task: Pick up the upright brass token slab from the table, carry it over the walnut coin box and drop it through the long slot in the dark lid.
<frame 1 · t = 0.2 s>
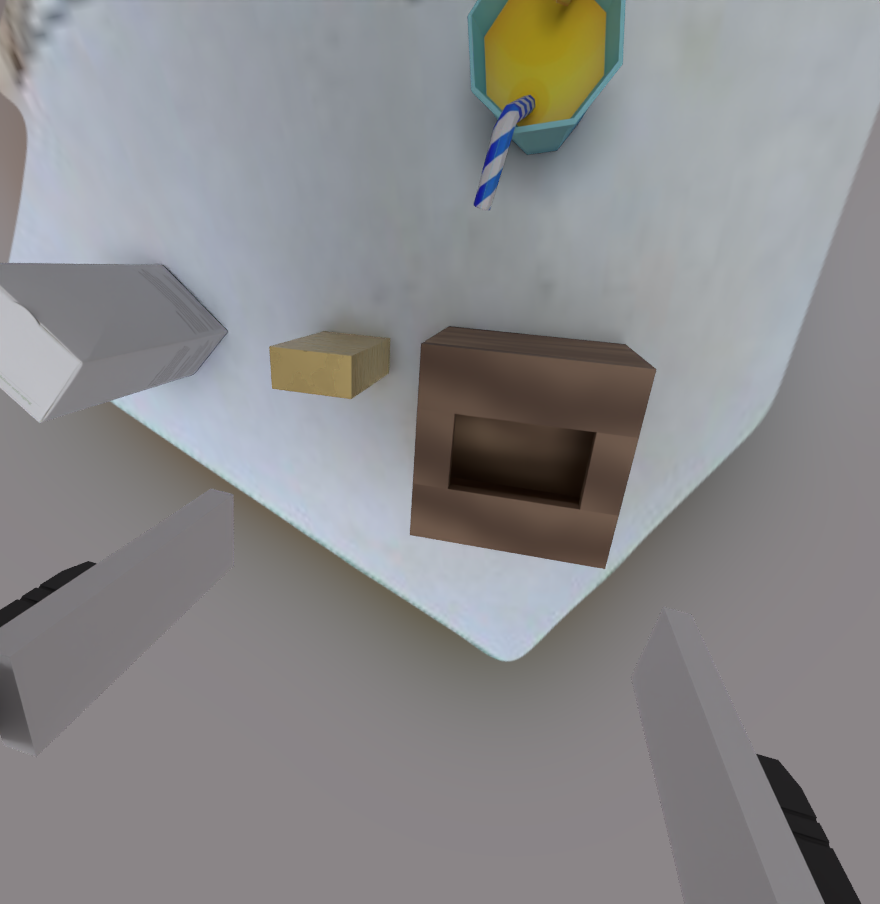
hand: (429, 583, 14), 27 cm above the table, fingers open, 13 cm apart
cup: (536, 126, 32), on the table
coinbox: (522, 418, 39), on the table
token: (356, 352, 40), on the table
skincare box: (183, 321, 42), on the table
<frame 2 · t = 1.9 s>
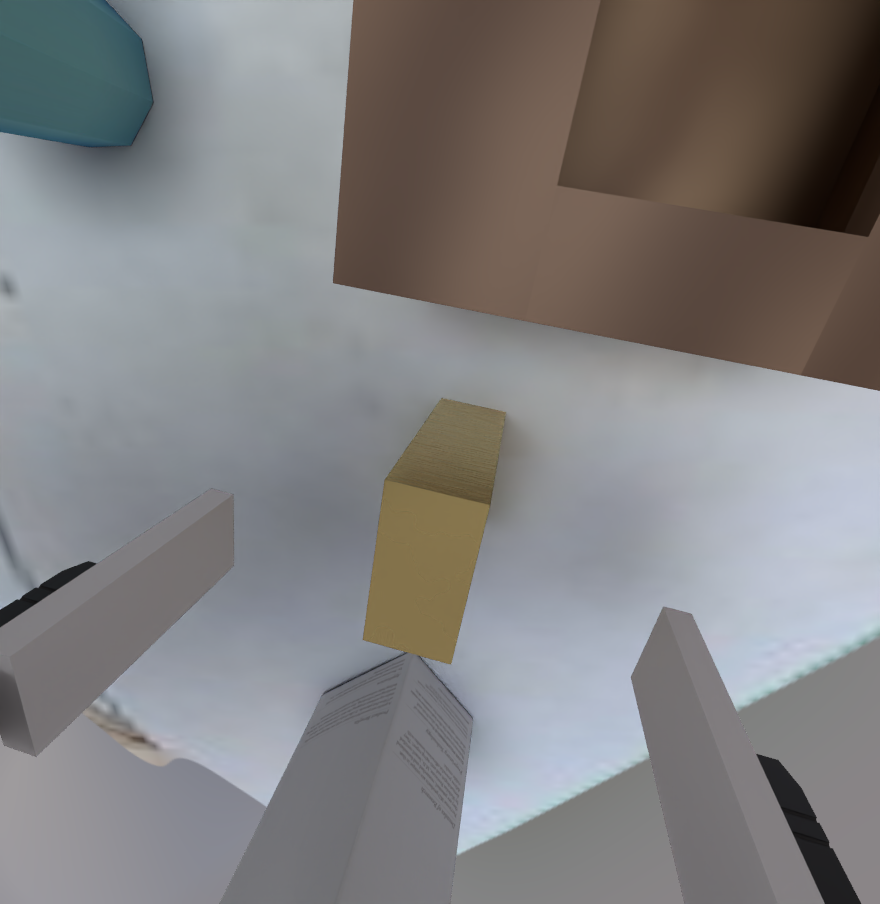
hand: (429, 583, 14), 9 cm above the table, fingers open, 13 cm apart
cup: (118, 86, 19), on the table
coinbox: (655, 100, 16), on the table
token: (461, 464, 22), on the table
skincare box: (396, 699, 29), on the table
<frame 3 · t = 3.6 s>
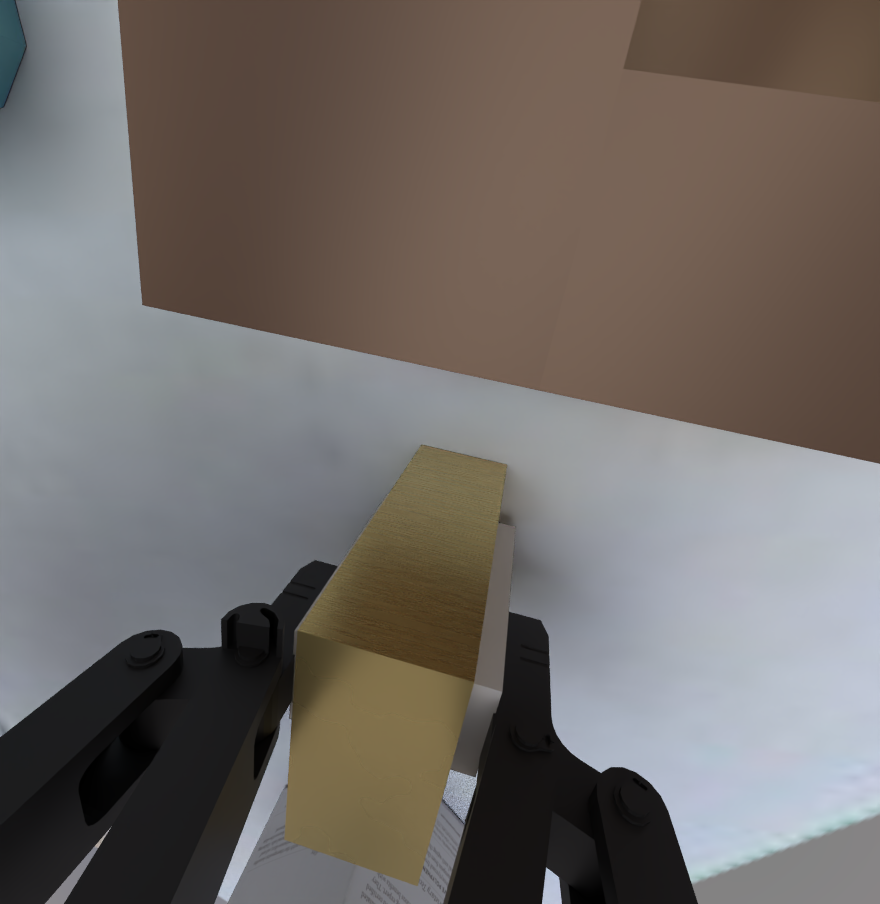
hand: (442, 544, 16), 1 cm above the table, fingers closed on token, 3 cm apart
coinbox: (731, 22, 11), on the table
token: (448, 528, 17), on the table, touching gripper
skincare box: (372, 797, 24), on the table
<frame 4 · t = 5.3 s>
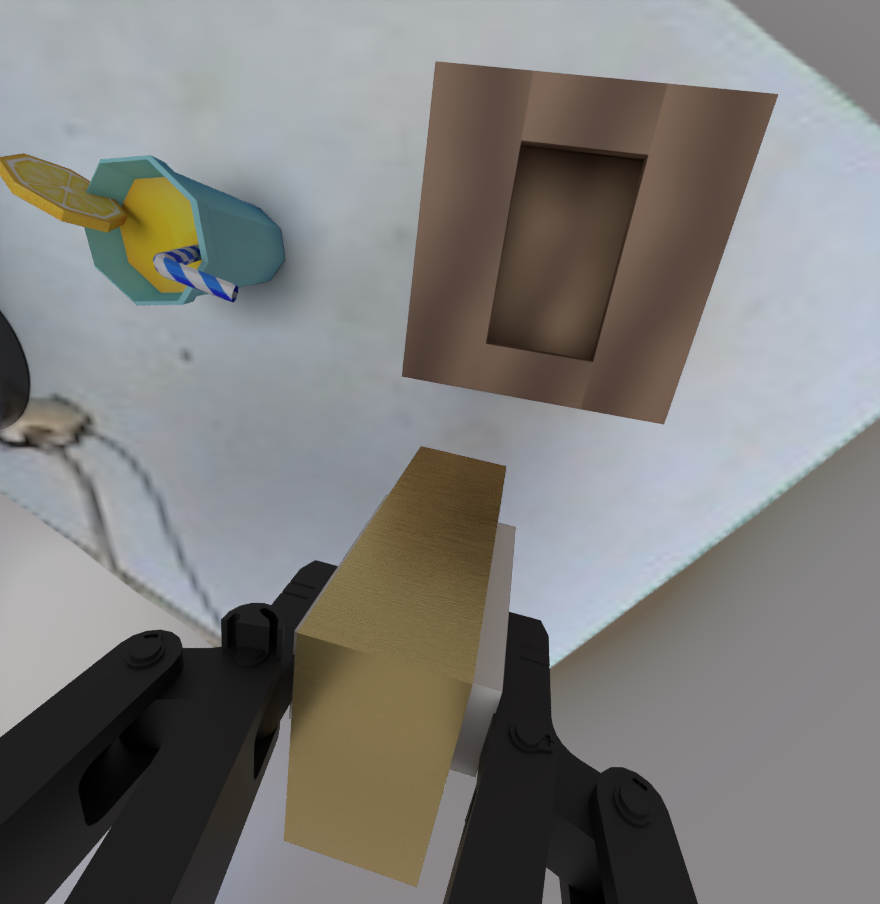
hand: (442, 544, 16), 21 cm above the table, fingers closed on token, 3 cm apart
cup: (265, 250, 34), on the table
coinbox: (551, 262, 31), on the table
token: (447, 529, 17), point 20 cm above the table, touching gripper
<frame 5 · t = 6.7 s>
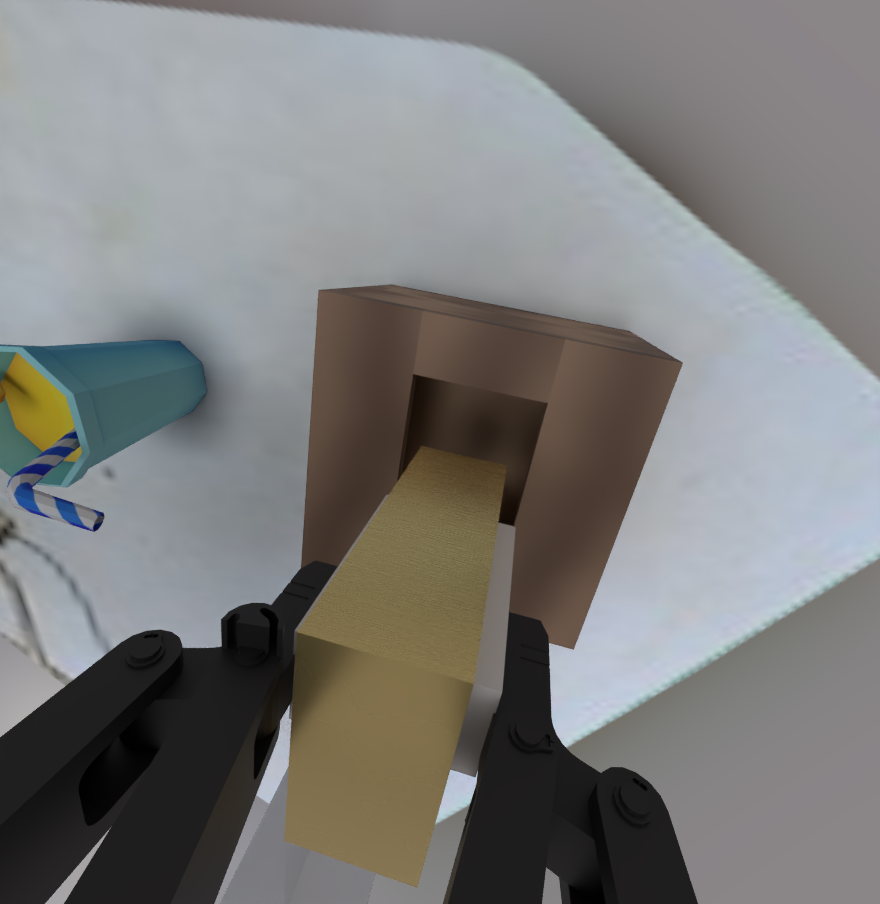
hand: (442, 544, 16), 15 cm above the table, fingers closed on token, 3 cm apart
cup: (186, 380, 32), on the table
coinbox: (481, 420, 29), on the table
token: (448, 529, 17), point 13 cm above the table, touching gripper
skincare box: (358, 730, 42), on the table
when the fingers open (13 cm above the table, at t = 7.5 s): token drops 11 cm, resting on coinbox.
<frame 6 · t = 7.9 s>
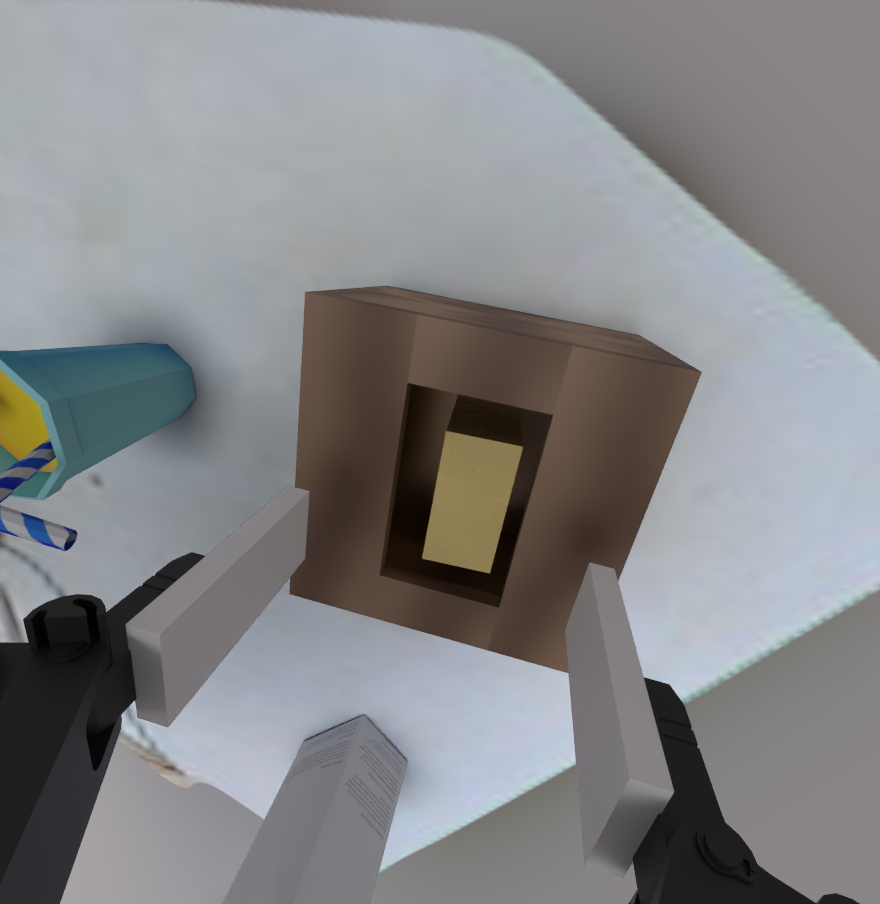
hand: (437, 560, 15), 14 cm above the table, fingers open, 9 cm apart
cup: (175, 385, 31), on the table
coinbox: (482, 428, 28), on the table
token: (479, 433, 27), point 1 cm above the table, touching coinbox
skincare box: (355, 746, 41), on the table
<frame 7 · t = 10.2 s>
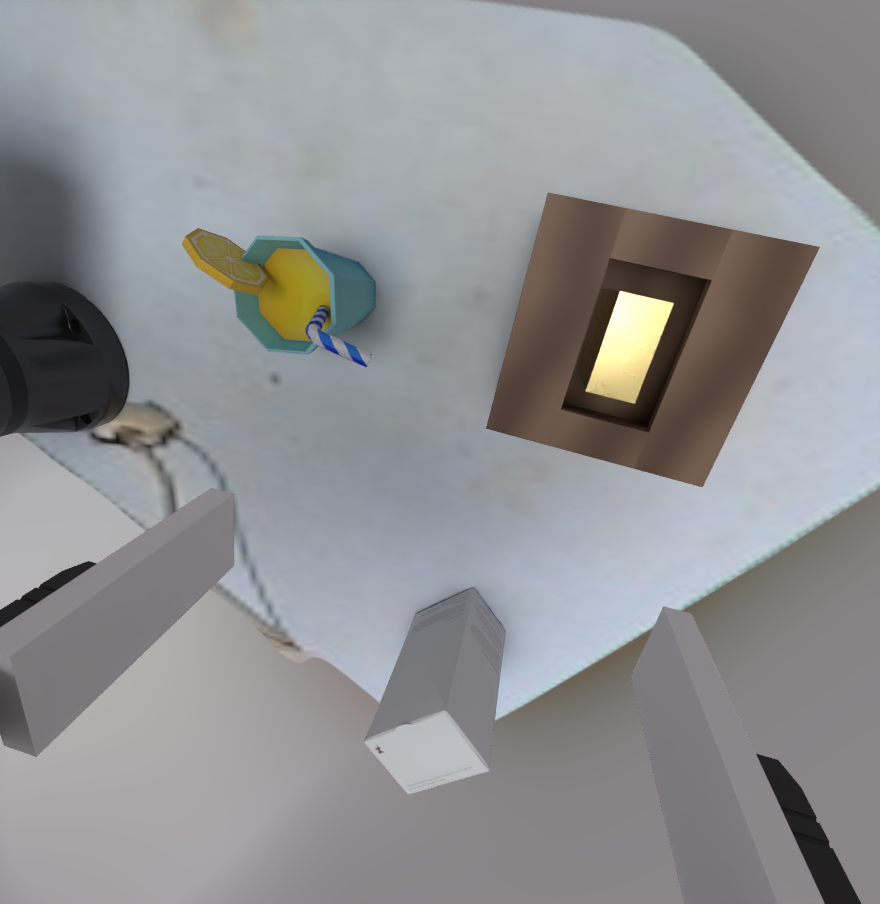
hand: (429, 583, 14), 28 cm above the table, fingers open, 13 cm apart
cup: (358, 297, 40), on the table
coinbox: (609, 331, 36), on the table
token: (609, 333, 35), point 1 cm above the table, touching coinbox
skincare box: (459, 618, 49), on the table
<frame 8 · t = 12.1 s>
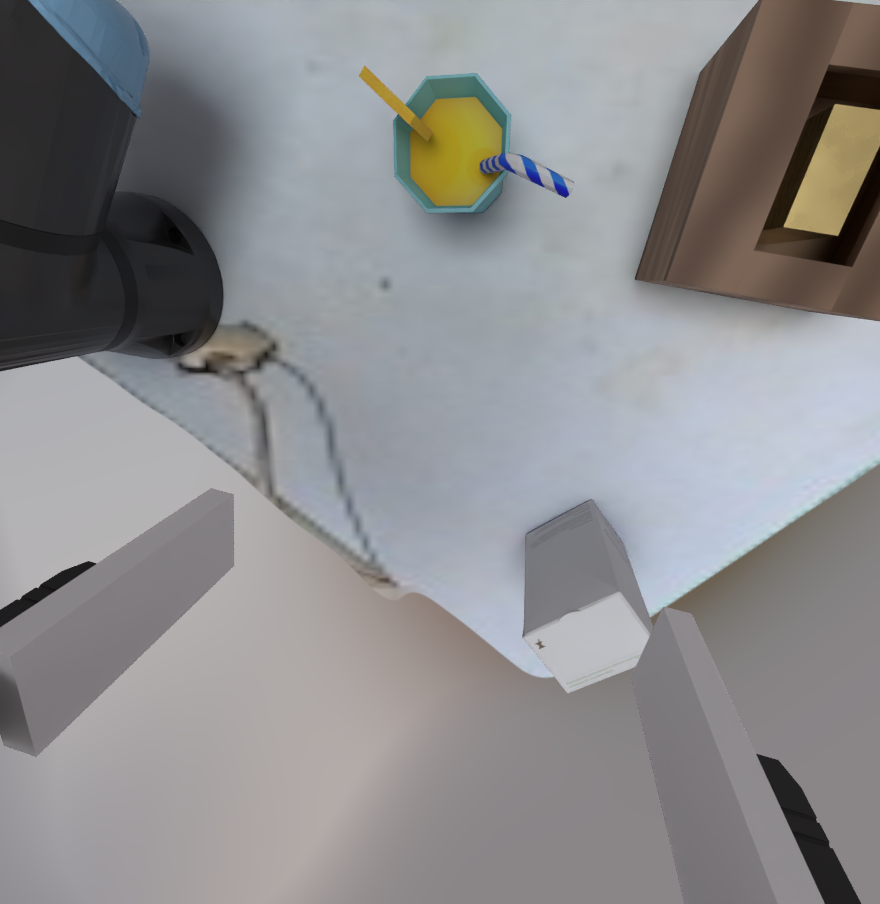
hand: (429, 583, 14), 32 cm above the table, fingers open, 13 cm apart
cup: (482, 184, 38), on the table
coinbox: (760, 198, 34), on the table
token: (763, 197, 34), point 1 cm above the table, touching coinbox
skincare box: (573, 535, 48), on the table
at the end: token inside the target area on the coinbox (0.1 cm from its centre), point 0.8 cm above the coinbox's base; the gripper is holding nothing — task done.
